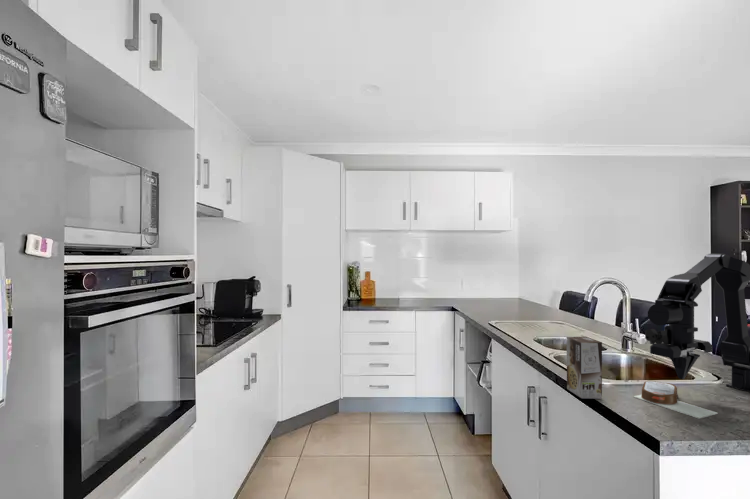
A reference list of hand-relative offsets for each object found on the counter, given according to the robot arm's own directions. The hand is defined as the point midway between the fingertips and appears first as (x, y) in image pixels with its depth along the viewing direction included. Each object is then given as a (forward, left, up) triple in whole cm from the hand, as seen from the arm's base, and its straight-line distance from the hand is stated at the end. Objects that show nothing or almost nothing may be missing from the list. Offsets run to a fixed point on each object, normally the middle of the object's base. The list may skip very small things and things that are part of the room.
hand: (681, 378), depth 117 cm
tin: (-1, -1, -5) cm, 5 cm away
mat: (+4, +1, -6) cm, 8 cm away
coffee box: (+19, -16, -7) cm, 26 cm away
